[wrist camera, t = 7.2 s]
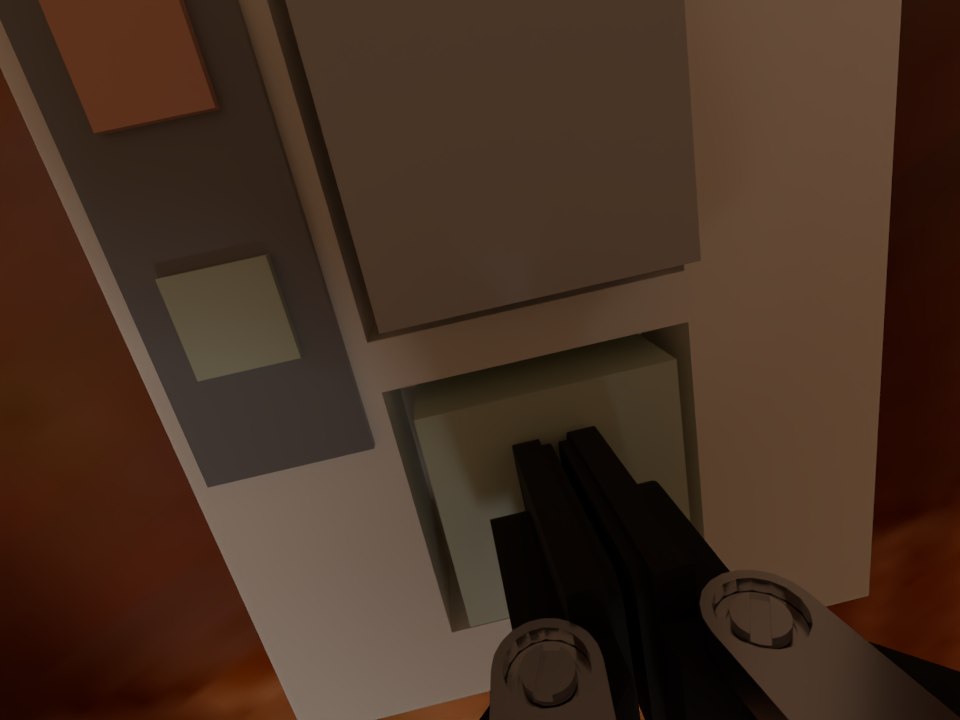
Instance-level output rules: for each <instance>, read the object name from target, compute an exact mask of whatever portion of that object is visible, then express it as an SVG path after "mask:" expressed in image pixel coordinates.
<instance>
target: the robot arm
mask: <svg viewBox="0 0 960 720" xmlns="http://www.w3.org/2000/svg"><path fill="white" fill-rule="evenodd" d="M558 446H559V452H560V458H561V462H560V460H559V458H558V456H557V454H556V452H555V450H554V448H553V446H552V445H551V444H546V445H541V443H540V441H539V439H536V440H532V441H528V442H523V443H519V444H515V445H512V450H513V455H514V460H515V465H516V470H517V474H518V479H519V484H520V489H521V493H522V498H523V503H524V508H525V511H523V512H519V513H515V514H511V515H507V516H502V517H498V518H494V519H490V523H491V528H492V533H493V538H494V543H495V548H496V553H497V558H498V563H499V568H500V573H501V578H502V583H503V588H504V593H505V598H506V603H507V608H508V613H509V617H510V622H511V627H512V631H511V632H510V633H509V634H508V635H507V636H506V637H505V638H504V639H503V640H502V641H501V643H500V645H499V646H498V648H497V650H496V652H495V654H494V656H493V661H492V667H491V678H490V705H489V707H488V708H487V710H486V711H485V713H484V714H483V715H482V717H481V718H480V720H640V713H639V706H640V709H641V711H642V713H643V716H644V718H645V720H960V672H959V671H956V670H953V669H950V668H947V667H944V666H941V665H938V664H935V663H932V662H929V661H926V660H923V659H920V658H917V657H914V656H911V655H907V654H904V653H901V652H898V651H895V650H892V649H889V648H886V647H883V646H880V645H877V644H874V643H871V642H868V641H867V640H865V639H864V638H863V637H862V636H860V635H859V634H858V633H857V632H856V631H854V630H853V629H852V628H851V627H850V626H848V625H847V624H846V623H845V622H843V621H842V620H841V619H840V618H839V617H837V616H836V615H835V614H834V613H833V612H831V611H830V610H829V609H828V608H827V607H825V606H824V605H823V604H822V603H820V602H819V601H818V600H817V599H816V598H814V597H813V596H812V595H811V594H810V593H808V592H807V591H806V590H804V589H803V588H801V587H800V586H798V585H797V584H795V583H793V582H792V581H790V580H788V579H785V578H783V577H780V576H778V575H775V574H773V573H767V572H762V571H757V570H735V571H731V572H730V571H729V569H728V568H727V567H726V566H725V564H724V563H723V562H722V561H721V560H720V558H719V557H718V556H717V555H716V553H715V552H714V551H713V550H712V548H711V547H710V546H709V545H708V543H707V542H706V541H705V540H704V538H703V537H702V536H701V535H700V533H699V532H698V531H697V530H696V529H695V527H694V526H693V525H692V524H691V522H690V521H689V520H688V519H687V517H686V516H685V515H684V514H683V512H682V511H681V510H680V509H679V507H678V506H677V505H676V504H675V502H674V501H673V500H672V499H671V498H670V496H669V495H668V494H667V493H666V491H665V490H664V489H663V488H662V486H661V485H660V484H659V483H658V482H657V481H654V480H652V481H647V482H643V483H639V484H637V483H636V482H635V480H634V479H633V477H632V476H631V475H630V473H629V472H628V471H627V469H626V468H625V467H624V465H623V464H622V462H621V461H620V460H619V458H618V457H617V456H616V454H615V453H614V451H613V450H612V449H611V447H610V446H609V445H608V443H607V442H606V440H605V439H604V438H603V436H602V435H601V434H600V432H599V431H598V430H597V428H596V427H595V426H591V427H587V428H582V429H578V430H574V431H570V432H567V440H563V441H559V442H558ZM638 704H639V706H638Z"/></svg>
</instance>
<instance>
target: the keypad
mask: <svg viewBox="0 0 960 720" xmlns="http://www.w3.org/2000/svg"><path fill="white" fill-rule="evenodd" d="M684 2H685V18H686V34H687V49H688V65H689V81H690V96H691V112H692V128H693V144H694V159H695V175H696V191H697V206H698V222H699V238H700V253H701V261H698V262H693V263H689V264H685V265H680V266H676V267H671V268H667V269H663V270H658V271H654V272H649V273H645V274H641V275H636V276H632V277H627V278H623V279H619V280H614V281H610V282H605V283H601V284H597V285H592V286H588V287H583V288H579V289H575V290H570V291H566V292H561V293H557V294H552V295H548V296H544V297H539V298H535V299H530V300H526V301H522V302H517V303H513V304H508V305H504V306H500V307H495V308H491V309H486V310H482V311H478V312H473V313H469V314H464V315H460V316H456V317H451V318H447V319H442V320H438V321H434V322H429V323H425V324H420V325H416V326H412V327H407V328H403V329H398V330H394V331H390V332H385V333H381V334H379V331H378V327H377V324H376V320H375V316H374V313H373V309H372V306H371V302H370V299H369V295H368V292H367V288H366V285H365V281H364V278H363V274H362V270H361V267H360V263H359V260H358V256H357V253H356V249H355V246H354V242H353V239H352V235H351V232H350V228H349V224H348V221H347V217H346V214H345V210H344V207H343V203H342V200H341V196H340V193H339V189H338V186H337V182H336V178H335V175H334V171H333V168H332V164H331V161H330V157H329V154H328V150H327V147H326V143H325V140H324V136H323V132H322V129H321V125H320V122H319V118H318V115H317V111H316V108H315V104H314V101H313V97H312V94H311V90H310V86H309V83H308V79H307V76H306V72H305V69H304V65H303V62H302V58H301V55H300V51H299V48H298V44H297V40H296V37H295V33H294V30H293V26H292V23H291V19H290V16H289V12H288V9H287V5H286V2H285V0H0V68H1V70H2V72H3V75H4V77H5V79H6V81H7V83H8V86H9V88H10V90H11V92H12V94H13V97H14V99H15V101H16V103H17V105H18V108H19V110H20V112H21V114H22V116H23V119H24V121H25V123H26V125H27V127H28V130H29V132H30V134H31V136H32V138H33V140H34V143H35V145H36V147H37V149H38V151H39V154H40V156H41V158H42V160H43V162H44V165H45V167H46V169H47V171H48V173H49V176H50V178H51V180H52V182H53V184H54V187H55V189H56V191H57V193H58V195H59V198H60V200H61V202H62V204H63V206H64V209H65V211H66V213H67V215H68V217H69V220H70V222H71V224H72V226H73V228H74V230H75V233H76V235H77V237H78V239H79V241H80V244H81V246H82V248H83V250H84V252H85V255H86V257H87V259H88V261H89V263H90V266H91V268H92V270H93V272H94V274H95V277H96V279H97V281H98V283H99V285H100V288H101V290H102V292H103V294H104V296H105V299H106V301H107V303H108V305H109V307H110V310H111V312H112V314H113V316H114V318H115V321H116V323H117V325H118V327H119V329H120V331H121V334H122V336H123V338H124V340H125V342H126V345H127V347H128V349H129V351H130V353H131V356H132V358H133V360H134V362H135V364H136V367H137V369H138V371H139V373H140V375H141V378H142V380H143V382H144V384H145V386H146V389H147V391H148V393H149V395H150V397H151V400H152V402H153V404H154V406H155V408H156V411H157V413H158V415H159V417H160V419H161V422H162V424H163V426H164V428H165V430H166V432H167V435H168V437H169V439H170V441H171V443H172V446H173V448H174V450H175V452H176V454H177V457H178V459H179V461H180V463H181V465H182V468H183V470H184V472H185V474H186V476H187V479H188V481H189V483H190V485H191V487H192V490H193V492H194V494H195V496H196V498H197V501H198V503H199V505H200V507H201V509H202V512H203V514H204V516H205V518H206V520H207V523H208V525H209V527H210V529H211V531H212V533H213V536H214V538H215V540H216V542H217V544H218V547H219V549H220V551H221V553H222V555H223V558H224V560H225V562H226V564H227V566H228V569H229V571H230V573H231V575H232V577H233V580H234V582H235V584H236V586H237V588H238V591H239V593H240V595H241V597H242V599H243V602H244V604H245V606H246V608H247V610H248V613H249V615H250V617H251V619H252V621H253V624H254V626H255V628H256V630H257V632H258V634H259V637H260V639H261V641H262V643H263V645H264V648H265V650H266V652H267V654H268V656H269V659H270V661H271V663H272V665H273V667H274V670H275V672H276V674H277V676H278V678H279V681H280V683H281V685H282V687H283V689H284V692H285V694H286V696H287V698H288V700H289V703H290V705H291V707H292V709H293V711H294V714H295V716H296V718H297V720H376V719H380V718H384V717H388V716H392V715H396V714H400V713H404V712H408V711H412V710H416V709H420V708H424V707H428V706H432V705H436V704H440V703H444V702H448V701H451V700H455V699H459V698H463V697H467V696H471V695H475V694H479V693H483V692H487V691H490V678H491V667H492V661H493V656H494V654H495V652H496V650H497V648H498V646H499V645H500V643H501V641H502V640H503V639H504V638H505V637H506V636H507V635H508V634H509V633H510V632H511V631H512V627H511V622H510V617H509V618H505V619H501V620H497V621H493V622H489V623H485V624H481V625H477V626H473V627H470V623H469V619H468V616H467V612H466V608H465V605H464V601H463V598H462V594H461V590H460V587H459V583H458V579H457V576H456V572H455V569H454V565H453V561H452V558H451V554H450V550H449V547H448V543H447V540H446V536H445V532H444V529H443V525H442V521H441V518H440V514H439V510H438V507H437V503H436V500H435V496H434V492H433V489H432V485H431V481H430V478H429V474H428V471H427V467H426V463H425V460H424V456H423V452H422V449H421V445H420V442H419V438H418V434H417V431H416V427H415V423H414V405H415V385H417V384H421V383H426V382H430V381H434V380H439V379H443V378H447V377H452V376H456V375H460V374H465V373H469V372H473V371H478V370H482V369H486V368H491V367H495V366H499V365H504V364H508V363H512V362H517V361H521V360H525V359H530V358H534V357H538V356H543V355H547V354H551V353H556V352H560V351H564V350H569V349H573V348H577V347H582V346H586V345H590V344H595V343H599V342H603V341H608V340H612V339H616V338H621V337H625V336H629V335H634V334H639V335H641V336H642V337H644V338H645V339H647V340H648V341H650V342H651V343H653V344H654V345H656V346H657V347H659V348H660V349H662V350H663V351H665V352H666V353H668V354H669V355H671V356H672V357H674V358H675V359H677V370H678V382H679V394H680V405H681V417H682V429H683V441H684V453H685V464H686V476H687V488H688V500H689V512H690V522H691V524H692V525H693V526H694V527H695V529H696V530H697V531H698V532H699V533H700V535H701V536H702V537H703V538H704V540H705V541H706V542H707V543H708V545H709V546H710V547H711V548H712V550H713V551H714V552H715V553H716V555H717V556H718V557H719V558H720V560H721V561H722V562H723V563H724V564H725V566H726V567H727V568H728V569H729V571H730V572H731V571H735V570H757V571H762V572H767V573H773V574H775V575H778V576H780V577H783V578H785V579H788V580H790V581H792V582H793V583H795V584H797V585H798V586H800V587H801V588H803V589H804V590H806V591H807V592H808V593H810V594H811V595H812V596H813V597H814V598H816V599H817V600H818V601H819V602H820V603H822V604H823V605H824V606H825V607H826V606H830V605H834V604H838V603H842V602H846V601H850V600H854V599H858V598H862V597H866V596H869V582H870V564H871V546H872V528H873V510H874V492H875V474H876V456H877V438H878V420H879V402H880V384H881V366H882V348H883V330H884V312H885V294H886V275H887V257H888V239H889V221H890V203H891V185H892V167H893V149H894V131H895V113H896V95H897V77H898V59H899V41H900V23H901V5H902V0H684Z"/></svg>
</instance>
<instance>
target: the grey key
mask: <svg viewBox="0 0 960 720" xmlns="http://www.w3.org/2000/svg"><path fill="white" fill-rule="evenodd" d="M285 2H286V5H287V9H288V12H289V16H290V19H291V23H292V26H293V30H294V33H295V37H296V40H297V44H298V48H299V51H300V55H301V58H302V62H303V65H304V69H305V72H306V76H307V79H308V83H309V86H310V90H311V94H312V97H313V101H314V104H315V108H316V111H317V115H318V118H319V122H320V125H321V129H322V132H323V136H324V140H325V143H326V147H327V150H328V154H329V157H330V161H331V164H332V168H333V171H334V175H335V178H336V182H337V186H338V189H339V193H340V196H341V200H342V203H343V207H344V210H345V214H346V217H347V221H348V224H349V228H350V232H351V235H352V239H353V242H354V246H355V249H356V253H357V256H358V260H359V263H360V267H361V270H362V274H363V278H364V281H365V285H366V288H367V292H368V295H369V299H370V302H371V306H372V309H373V313H374V316H375V320H376V324H377V327H378V331H379V334H381V333H385V332H390V331H394V330H398V329H403V328H407V327H412V326H416V325H420V324H425V323H429V322H434V321H438V320H442V319H447V318H451V317H456V316H460V315H464V314H469V313H473V312H478V311H482V310H486V309H491V308H495V307H500V306H504V305H508V304H513V303H517V302H522V301H526V300H530V299H535V298H539V297H544V296H548V295H552V294H557V293H561V292H566V291H570V290H575V289H579V288H583V287H588V286H592V285H597V284H601V283H605V282H610V281H614V280H619V279H623V278H627V277H632V276H636V275H641V274H645V273H649V272H654V271H658V270H663V269H667V268H671V267H676V266H680V265H685V264H689V263H693V262H698V261H701V253H700V238H699V222H698V206H697V191H696V175H695V159H694V144H693V128H692V112H691V96H690V81H689V65H688V49H687V34H686V18H685V2H684V0H285Z"/></svg>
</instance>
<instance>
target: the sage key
mask: <svg viewBox="0 0 960 720" xmlns="http://www.w3.org/2000/svg"><path fill="white" fill-rule="evenodd" d="M414 423H415V427H416V431H417V434H418V438H419V442H420V445H421V449H422V452H423V456H424V460H425V463H426V467H427V471H428V474H429V478H430V481H431V485H432V489H433V492H434V496H435V500H436V503H437V507H438V510H439V514H440V518H441V521H442V525H443V529H444V532H445V536H446V540H447V543H448V547H449V550H450V554H451V558H452V561H453V565H454V569H455V572H456V576H457V579H458V583H459V587H460V590H461V594H462V598H463V601H464V605H465V608H466V612H467V616H468V619H469V623H470V627H473V626H477V625H481V624H485V623H489V622H493V621H497V620H501V619H505V618H509V613H508V608H507V603H506V598H505V593H504V588H503V583H502V578H501V573H500V568H499V563H498V558H497V553H496V548H495V543H494V538H493V533H492V528H491V523H490V519H494V518H498V517H502V516H507V515H511V514H515V513H519V512H523V511H525V508H524V503H523V498H522V493H521V489H520V484H519V479H518V474H517V470H516V465H515V460H514V455H513V450H512V445H515V444H519V443H523V442H528V441H532V440H536V439H539V441H540V443H541V445H546V444H551V445H552V446H553V448H554V450H555V452H556V454H557V456H558V458H559V460H560V462H561V458H560V452H559V446H558V442H559V441H563V440H567V432H570V431H574V430H578V429H582V428H587V427H591V426H595V427H596V428H597V430H598V431H599V432H600V434H601V435H602V436H603V438H604V439H605V440H606V442H607V443H608V445H609V446H610V447H611V449H612V450H613V451H614V453H615V454H616V456H617V457H618V458H619V460H620V461H621V462H622V464H623V465H624V467H625V468H626V469H627V471H628V472H629V473H630V475H631V476H632V477H633V479H634V480H635V482H636V483H637V484H639V483H643V482H647V481H652V480H654V481H657V482H658V483H659V484H660V485H661V486H662V488H663V489H664V490H665V491H666V493H667V494H668V495H669V496H670V498H671V499H672V500H673V501H674V502H675V504H676V505H677V506H678V507H679V509H680V510H681V511H682V512H683V514H684V515H685V516H686V517H687V519H688V520H689V521H690V512H689V500H688V488H687V476H686V464H685V453H684V441H683V429H682V417H681V405H680V394H679V382H678V370H677V359H675V358H674V357H672V356H671V355H669V354H668V353H666V352H665V351H663V350H662V349H660V348H659V347H657V346H656V345H654V344H653V343H651V342H650V341H648V340H647V339H645V338H644V337H642V336H641V335H639V334H634V335H629V336H625V337H621V338H616V339H612V340H608V341H603V342H599V343H595V344H590V345H586V346H582V347H577V348H573V349H569V350H564V351H560V352H556V353H551V354H547V355H543V356H538V357H534V358H530V359H525V360H521V361H517V362H512V363H508V364H504V365H499V366H495V367H491V368H486V369H482V370H478V371H473V372H469V373H465V374H460V375H456V376H452V377H447V378H443V379H439V380H434V381H430V382H426V383H421V384H417V385H415V405H414Z"/></svg>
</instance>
